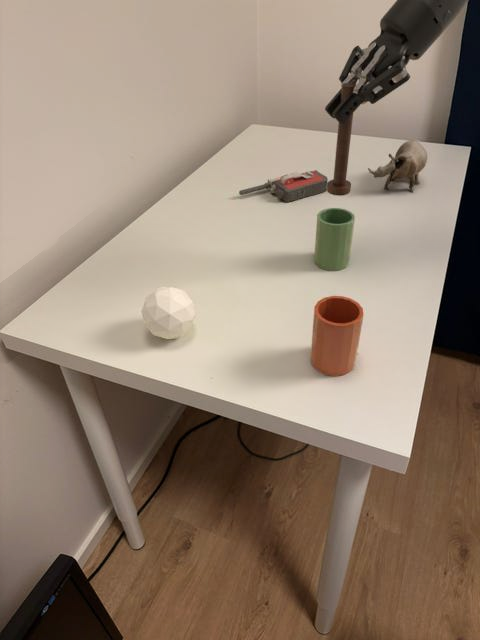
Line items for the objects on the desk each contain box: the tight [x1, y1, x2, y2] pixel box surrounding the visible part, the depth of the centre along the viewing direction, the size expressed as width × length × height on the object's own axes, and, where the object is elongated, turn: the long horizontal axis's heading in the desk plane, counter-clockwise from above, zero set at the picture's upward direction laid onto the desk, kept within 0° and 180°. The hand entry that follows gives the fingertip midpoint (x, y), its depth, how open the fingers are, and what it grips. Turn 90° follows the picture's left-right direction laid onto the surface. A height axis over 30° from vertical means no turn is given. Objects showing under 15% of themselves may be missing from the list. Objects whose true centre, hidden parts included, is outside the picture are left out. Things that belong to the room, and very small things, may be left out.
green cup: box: [313, 207, 356, 272], centre depth 85 cm, size 6×6×9 cm
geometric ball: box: [140, 286, 197, 340], centre depth 72 cm, size 8×8×8 cm
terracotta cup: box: [310, 295, 365, 377], centre depth 65 cm, size 6×6×9 cm
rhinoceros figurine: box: [367, 138, 428, 193], centre depth 108 cm, size 8×14×15 cm
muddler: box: [326, 83, 357, 197], centre depth 74 cm, size 4×4×16 cm
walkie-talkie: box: [238, 169, 329, 203], centre depth 108 cm, size 9×4×20 cm
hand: (333, 116), depth 71 cm, fingers closed on muddler, 2 cm apart
